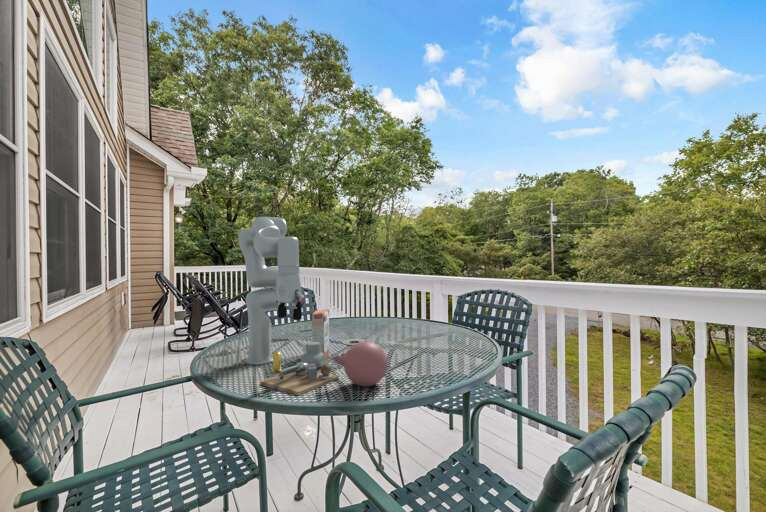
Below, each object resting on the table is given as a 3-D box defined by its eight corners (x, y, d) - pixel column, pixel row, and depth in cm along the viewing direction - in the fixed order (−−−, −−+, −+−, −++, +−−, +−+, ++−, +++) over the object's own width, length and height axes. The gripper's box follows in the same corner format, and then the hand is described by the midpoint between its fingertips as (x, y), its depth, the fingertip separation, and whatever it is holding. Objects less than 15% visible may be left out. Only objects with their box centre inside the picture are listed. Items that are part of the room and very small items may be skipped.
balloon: (339, 376, 142) (338, 336, 142) (390, 378, 139) (390, 337, 139) (325, 391, 127) (324, 346, 127) (383, 394, 124) (382, 347, 124)
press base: (260, 384, 135) (259, 369, 135) (300, 370, 151) (300, 356, 151) (299, 395, 124) (298, 378, 124) (338, 378, 140) (338, 364, 140)
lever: (302, 366, 146) (301, 343, 146) (310, 368, 143) (309, 345, 143) (269, 377, 133) (269, 352, 133) (278, 379, 130) (277, 354, 130)
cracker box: (325, 360, 165) (324, 313, 165) (311, 360, 165) (310, 313, 165) (330, 352, 179) (329, 308, 179) (317, 352, 179) (316, 309, 179)
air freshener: (318, 371, 150) (318, 346, 150) (299, 370, 151) (298, 346, 151) (327, 363, 160) (326, 340, 160) (308, 363, 162) (308, 340, 162)
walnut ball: (318, 375, 138) (318, 364, 138) (325, 372, 142) (325, 362, 142) (326, 377, 136) (326, 366, 136) (333, 374, 139) (333, 363, 139)
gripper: (266, 271, 137) (267, 317, 137) (293, 271, 126) (294, 322, 126) (284, 270, 143) (285, 315, 143) (311, 270, 131) (312, 319, 131)
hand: (289, 318), depth 134 cm, fingers open, 9 cm apart
